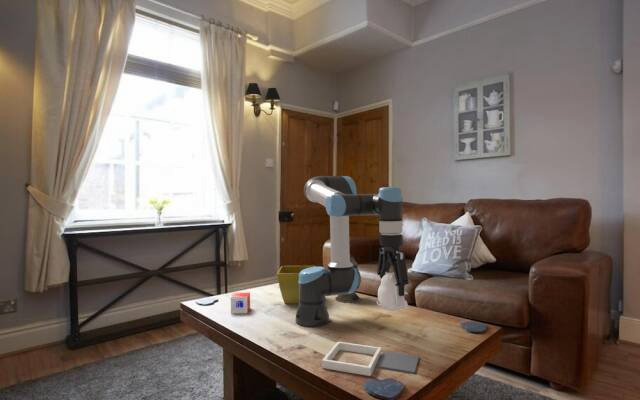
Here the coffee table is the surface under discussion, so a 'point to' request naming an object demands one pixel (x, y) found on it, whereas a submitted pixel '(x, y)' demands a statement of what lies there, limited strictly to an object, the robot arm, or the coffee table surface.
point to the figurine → (389, 293)
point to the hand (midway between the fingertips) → (392, 301)
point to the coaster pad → (398, 362)
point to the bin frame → (350, 367)
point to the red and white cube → (240, 303)
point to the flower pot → (290, 282)
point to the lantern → (353, 296)
